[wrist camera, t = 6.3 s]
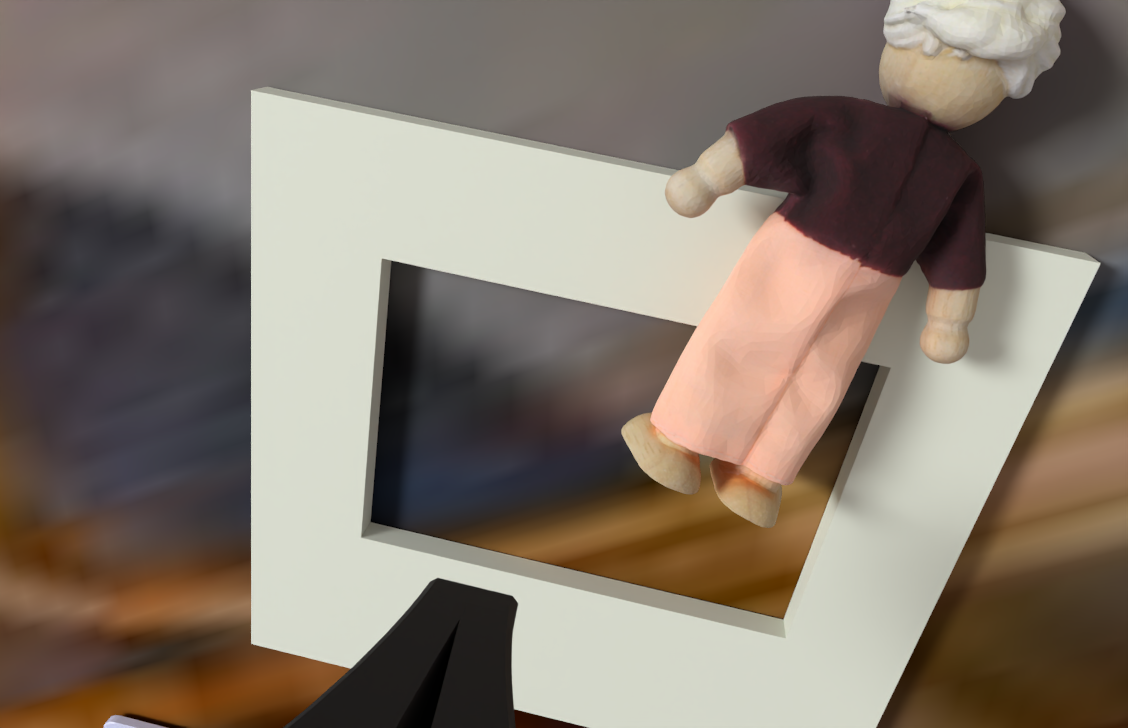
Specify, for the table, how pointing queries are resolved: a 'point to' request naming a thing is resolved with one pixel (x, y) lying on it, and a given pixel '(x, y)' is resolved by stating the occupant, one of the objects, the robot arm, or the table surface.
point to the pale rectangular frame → (631, 283)
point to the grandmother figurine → (839, 245)
